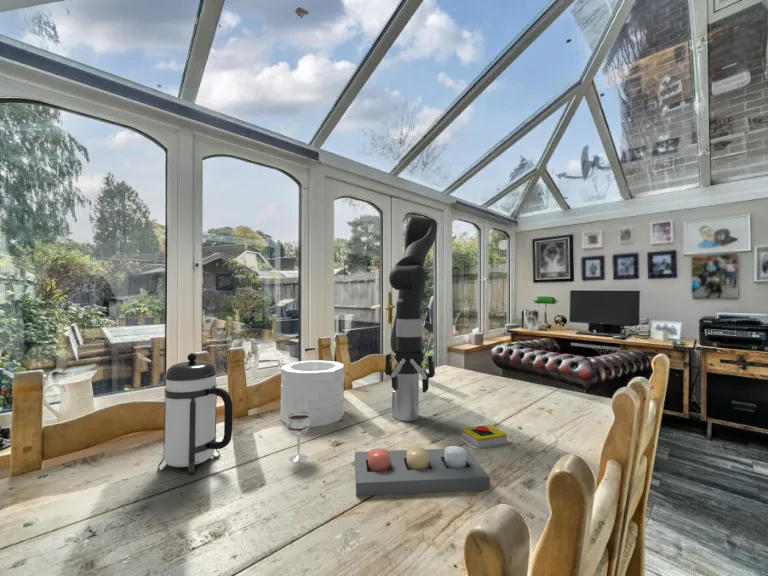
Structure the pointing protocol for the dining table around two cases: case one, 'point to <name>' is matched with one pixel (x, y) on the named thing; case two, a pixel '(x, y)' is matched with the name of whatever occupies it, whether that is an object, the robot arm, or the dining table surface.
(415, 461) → the ochre button
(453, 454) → the blue button
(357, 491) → the control panel
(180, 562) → the dining table surface
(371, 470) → the red button
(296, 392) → the basket
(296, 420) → the wineglass
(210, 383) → the coffee press
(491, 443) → the emergency button
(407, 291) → the robot arm
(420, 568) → the dining table surface
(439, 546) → the dining table surface
